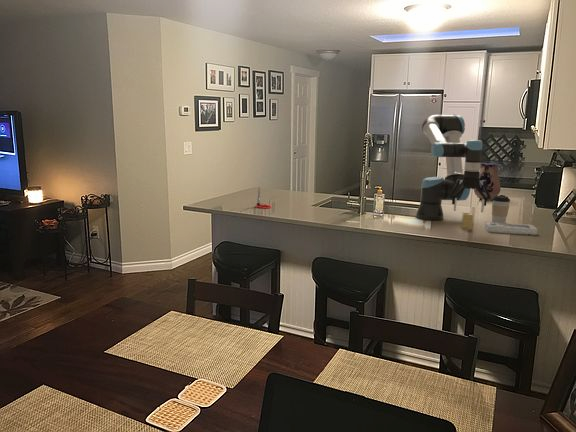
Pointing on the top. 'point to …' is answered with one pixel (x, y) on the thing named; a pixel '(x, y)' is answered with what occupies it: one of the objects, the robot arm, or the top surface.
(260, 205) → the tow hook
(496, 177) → the ceramic pitcher
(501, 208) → the coffee cup
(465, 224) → the yellow rectangular block
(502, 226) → the grey tray
